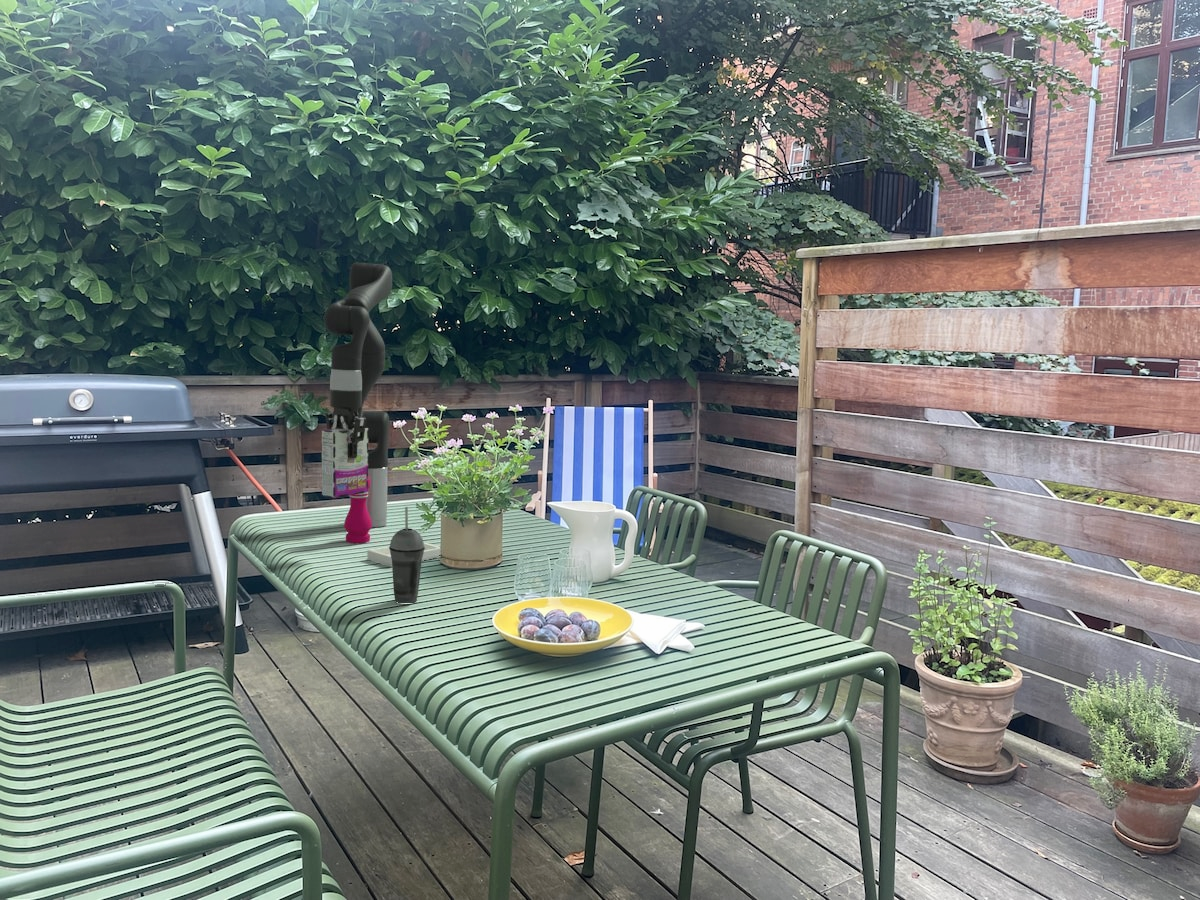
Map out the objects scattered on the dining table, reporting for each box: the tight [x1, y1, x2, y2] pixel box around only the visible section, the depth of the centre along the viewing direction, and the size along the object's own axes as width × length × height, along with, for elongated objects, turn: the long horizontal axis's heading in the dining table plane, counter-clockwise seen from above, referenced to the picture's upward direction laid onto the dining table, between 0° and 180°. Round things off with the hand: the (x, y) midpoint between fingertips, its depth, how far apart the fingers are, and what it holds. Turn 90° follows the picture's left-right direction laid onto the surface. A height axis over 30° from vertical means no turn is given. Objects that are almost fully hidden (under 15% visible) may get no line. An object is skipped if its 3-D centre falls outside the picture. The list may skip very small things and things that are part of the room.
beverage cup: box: [389, 506, 425, 604], centre depth 184 cm, size 7×7×20 cm
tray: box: [366, 542, 441, 568], centre depth 221 cm, size 10×16×2 cm, turn 141°
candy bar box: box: [321, 428, 369, 499], centre depth 218 cm, size 11×5×16 cm, turn 148°
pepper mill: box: [343, 477, 373, 544], centre depth 236 cm, size 7×7×20 cm
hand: (345, 456), depth 218 cm, fingers closed on candy bar box, 5 cm apart
